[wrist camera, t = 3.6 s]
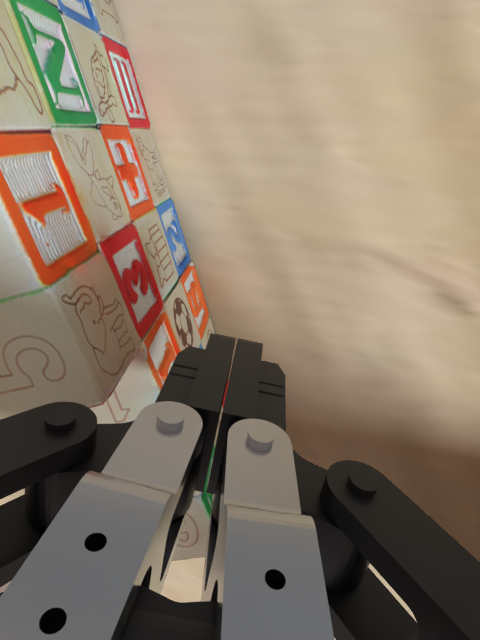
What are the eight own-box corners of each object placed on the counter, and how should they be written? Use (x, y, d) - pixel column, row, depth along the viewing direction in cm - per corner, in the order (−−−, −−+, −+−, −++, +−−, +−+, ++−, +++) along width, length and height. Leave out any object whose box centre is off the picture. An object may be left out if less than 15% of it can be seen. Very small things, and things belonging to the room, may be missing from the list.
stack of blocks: (242, 410, 25) (218, 648, 13) (140, 428, 26) (38, 663, 15) (99, -46, 16) (-264, -404, 5) (-42, 8, 18) (-597, -197, 6)
